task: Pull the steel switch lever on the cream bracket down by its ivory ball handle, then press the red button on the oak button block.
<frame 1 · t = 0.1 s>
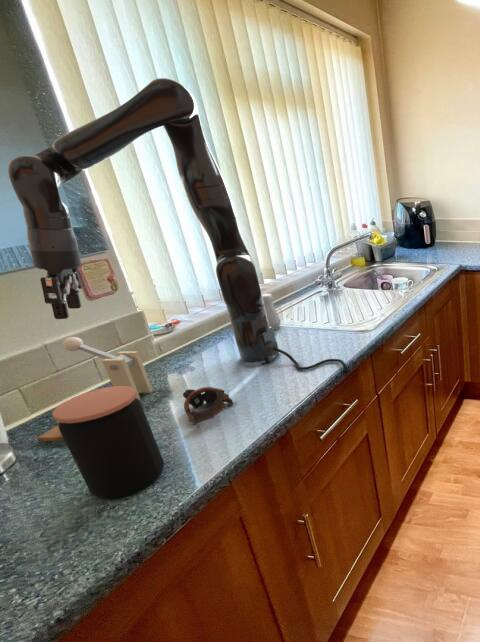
hand: (68, 313, 99), 22 cm above the countertop, tool pointing down, fingers open, 8 cm apart
button: (79, 415, 90), point 4 cm above the countertop, slide at 0.1 cm
bracket: (138, 400, 103), on the countertop
coffee jar: (131, 481, 78), on the countertop
lever: (97, 353, 98), point 14 cm above the countertop, hinge at 28.0°
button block: (87, 432, 91), on the countertop
brown hollow shell: (209, 414, 98), on the countertop
salt shaker: (272, 328, 148), on the countertop
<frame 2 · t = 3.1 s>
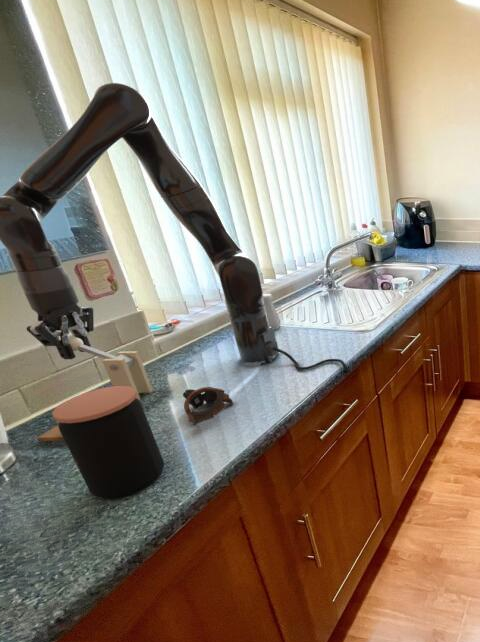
hand: (77, 354, 98), 13 cm above the countertop, tool pointing down, fingers closed on lever, 3 cm apart
lever: (97, 353, 98), point 14 cm above the countertop, hinge at 27.9°, touching gripper
everything else where it was.
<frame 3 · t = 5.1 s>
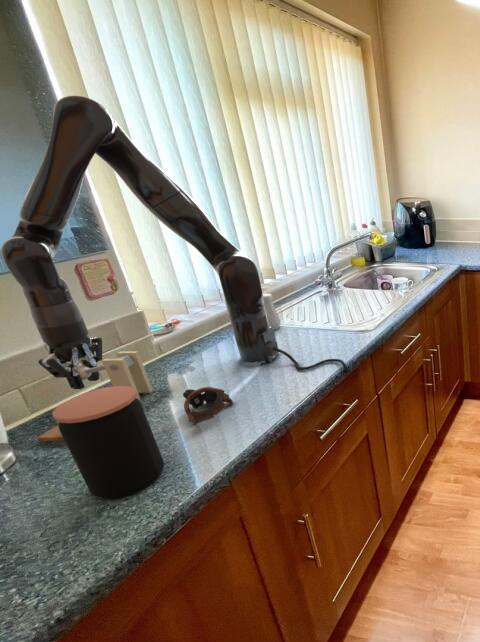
hand: (86, 383, 101), 5 cm above the countertop, tool pointing down, fingers closed on lever, 3 cm apart
lever: (101, 367, 99), point 10 cm above the countertop, hinge at -14.5°, touching gripper
everything else where it was.
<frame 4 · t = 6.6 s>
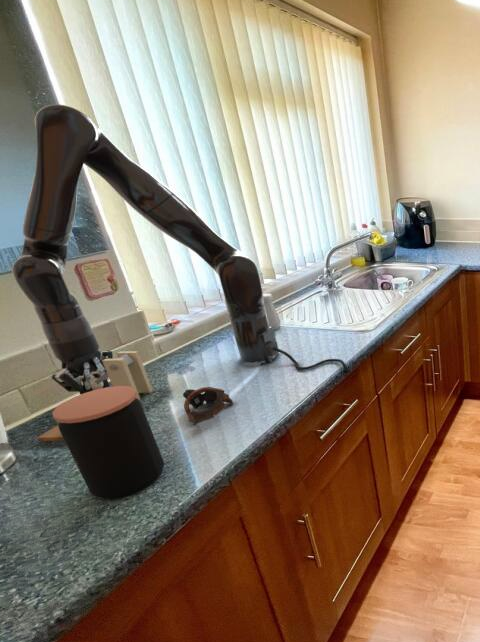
hand: (99, 396, 102), 1 cm above the countertop, tool pointing down, fingers closed on lever, 3 cm apart
lever: (107, 374, 100), point 8 cm above the countertop, hinge at -34.4°, touching gripper
everything else where it was.
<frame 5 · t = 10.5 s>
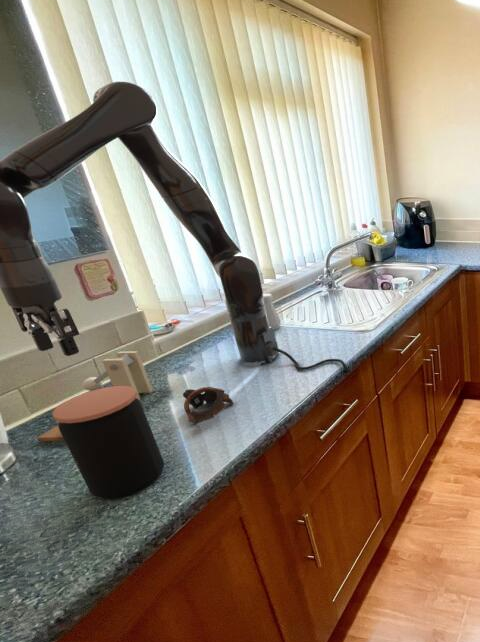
hand: (59, 351, 88), 18 cm above the countertop, tool pointing down, fingers open, 8 cm apart
lever: (107, 373, 100), point 8 cm above the countertop, hinge at -32.5°
everything else where it was.
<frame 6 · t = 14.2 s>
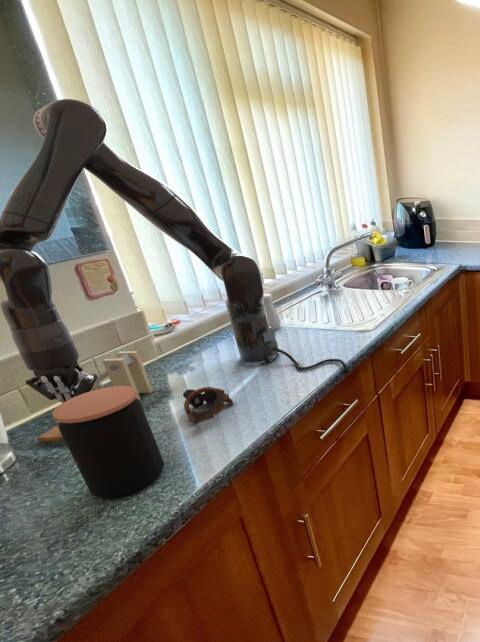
hand: (77, 413, 89), 5 cm above the countertop, tool pointing down, fingers closed
button: (80, 417, 90), point 4 cm above the countertop, slide at -0.3 cm, touching gripper
everything else where it was.
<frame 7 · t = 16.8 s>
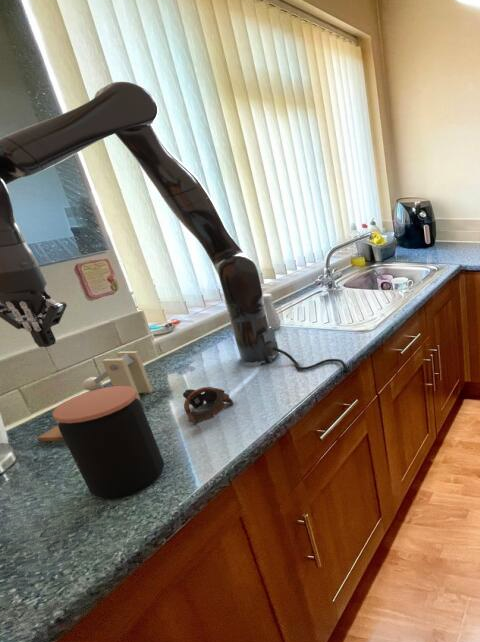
hand: (47, 345, 87), 20 cm above the countertop, tool pointing down, fingers closed
button: (79, 415, 90), point 4 cm above the countertop, slide at 0.1 cm
everything else where it was.
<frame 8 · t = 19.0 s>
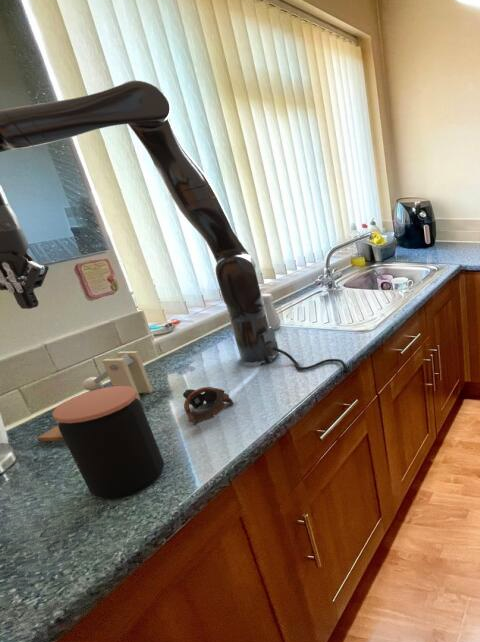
hand: (30, 307, 89), 27 cm above the countertop, tool pointing down, fingers closed
nothing on the countertop moved.
at the end: lever at -32° (first picture: +28°); button pushed in 1.1 cm at the most during the clip, back to where it started at the end; button slide at 0.1 cm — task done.
